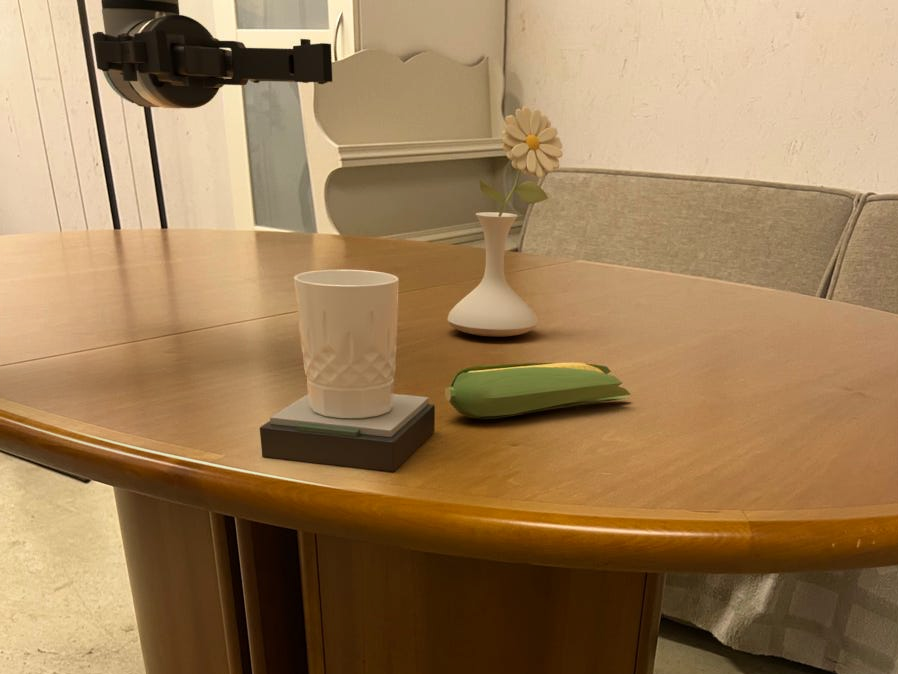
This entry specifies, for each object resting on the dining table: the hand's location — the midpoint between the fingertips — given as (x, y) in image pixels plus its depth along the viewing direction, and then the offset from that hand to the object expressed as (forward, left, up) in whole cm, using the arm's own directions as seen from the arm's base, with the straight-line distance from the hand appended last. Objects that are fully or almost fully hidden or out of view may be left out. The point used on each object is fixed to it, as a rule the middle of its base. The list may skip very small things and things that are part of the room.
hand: (249, 57), depth 74 cm
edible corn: (+19, -16, -28) cm, 38 cm away
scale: (-1, -16, -28) cm, 32 cm away
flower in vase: (+37, +13, -28) cm, 48 cm away
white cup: (-1, -16, -25) cm, 29 cm away
